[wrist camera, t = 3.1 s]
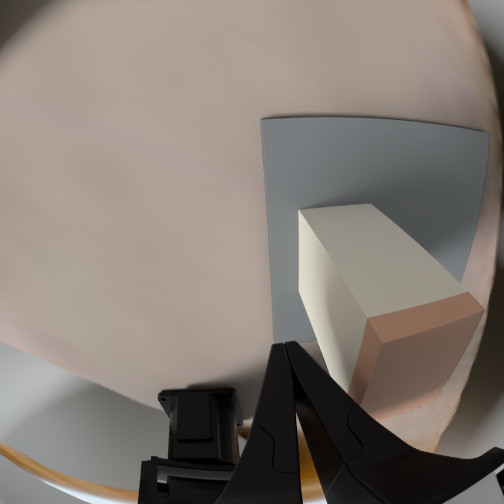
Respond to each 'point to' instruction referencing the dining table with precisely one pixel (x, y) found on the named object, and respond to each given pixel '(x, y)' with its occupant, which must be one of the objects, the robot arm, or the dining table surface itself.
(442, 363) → the cream block
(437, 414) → the dining table surface
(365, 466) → the robot arm
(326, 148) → the gray mat
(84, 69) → the dining table surface
